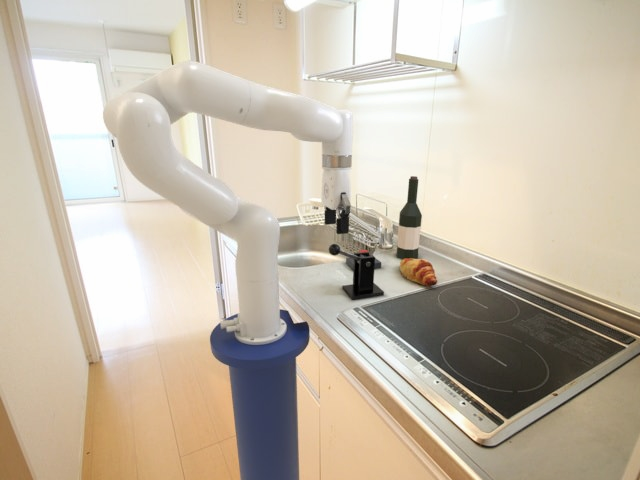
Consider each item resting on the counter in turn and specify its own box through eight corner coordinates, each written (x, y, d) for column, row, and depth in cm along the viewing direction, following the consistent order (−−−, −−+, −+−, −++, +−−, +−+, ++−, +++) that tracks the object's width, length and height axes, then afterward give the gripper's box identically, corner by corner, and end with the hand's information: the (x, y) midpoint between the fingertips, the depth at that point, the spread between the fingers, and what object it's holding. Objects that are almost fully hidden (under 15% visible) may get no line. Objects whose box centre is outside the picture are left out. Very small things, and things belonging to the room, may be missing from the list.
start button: (361, 258, 124) (361, 253, 124) (356, 255, 127) (357, 250, 127) (370, 257, 125) (370, 252, 125) (366, 254, 129) (366, 249, 128)
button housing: (354, 271, 122) (354, 260, 121) (346, 263, 129) (346, 253, 128) (381, 268, 126) (381, 257, 125) (371, 260, 133) (371, 250, 132)
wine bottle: (420, 255, 140) (428, 176, 130) (414, 261, 133) (422, 178, 123) (399, 251, 143) (405, 174, 133) (393, 258, 136) (399, 177, 126)
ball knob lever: (329, 254, 97) (333, 244, 96) (325, 251, 100) (330, 240, 99) (368, 269, 103) (372, 259, 103) (363, 265, 106) (368, 255, 105)
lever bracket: (352, 300, 102) (353, 261, 98) (342, 289, 109) (343, 252, 105) (383, 295, 105) (386, 257, 101) (372, 285, 112) (374, 248, 108)
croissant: (394, 275, 129) (385, 258, 125) (417, 261, 130) (409, 242, 126) (426, 300, 110) (417, 280, 106) (452, 282, 111) (445, 262, 108)
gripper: (312, 159, 97) (313, 221, 103) (333, 166, 82) (333, 238, 88) (339, 159, 99) (338, 219, 106) (364, 166, 84) (361, 236, 91)
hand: (336, 228), depth 97 cm, fingers open, 9 cm apart
